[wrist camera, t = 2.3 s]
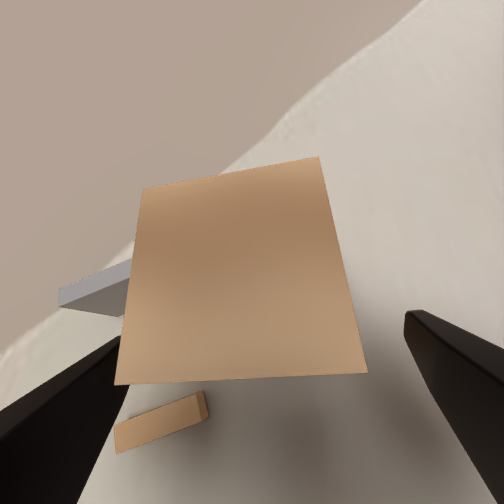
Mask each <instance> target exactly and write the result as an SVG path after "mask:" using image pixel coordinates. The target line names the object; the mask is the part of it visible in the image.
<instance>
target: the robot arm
mask: <svg viewBox="0 0 504 504" xmlns="http://www.w3.org/2000/svg"><path fill="white" fill-rule="evenodd" d="M404 338H405V341H406V343H407V345H408V347H409V349H410V351H411V353H412V356H413V358H414V360H415V362H416V364H417V366H418V368H419V370H420V372H421V374H422V376H423V378H424V381H425V383H426V385H427V387H428V389H429V391H430V393H431V394H432V396H433V398H434V399H435V401H436V403H437V405H438V406H439V408H440V409H441V411H442V413H443V414H444V416H445V418H446V419H447V421H448V423H449V424H450V426H451V428H452V429H453V431H454V433H455V434H456V436H457V438H458V439H459V441H460V442H461V444H462V446H463V447H464V449H465V451H466V452H467V454H468V456H469V457H470V459H471V461H472V462H473V464H474V466H475V467H476V469H477V470H478V472H479V474H480V475H481V477H482V479H483V480H484V482H485V484H486V485H487V487H488V489H489V490H490V492H491V494H492V495H493V497H494V499H495V500H496V502H497V503H498V504H504V349H503V348H501V347H499V346H497V345H495V344H492V343H490V342H488V341H486V340H484V339H482V338H480V337H478V336H476V335H474V334H472V333H470V332H468V331H465V330H463V329H461V328H459V327H457V326H455V325H453V324H451V323H449V322H447V321H445V320H443V319H441V318H439V317H436V316H434V315H432V314H430V313H428V312H426V311H424V310H411V311H407V312H406V314H405V322H404ZM120 341H121V335H120V336H117V337H115V338H114V339H112V340H111V341H109V342H108V343H106V344H104V345H103V346H101V347H100V348H98V349H97V350H95V351H93V352H92V353H90V354H89V355H87V356H86V357H84V358H82V359H81V360H79V361H78V362H76V363H75V364H73V365H71V366H70V367H68V368H67V369H65V370H64V371H62V372H61V373H59V374H57V375H56V376H54V377H53V378H51V379H50V380H48V381H46V382H45V383H43V384H42V385H40V386H39V387H37V388H35V389H34V390H32V391H31V392H29V393H28V394H26V395H25V396H23V397H21V398H20V399H18V400H17V401H15V402H14V403H12V404H10V405H9V406H7V407H6V408H4V409H3V410H1V411H0V504H77V502H78V500H79V498H80V496H81V493H82V491H83V489H84V487H85V485H86V483H87V481H88V478H89V476H90V474H91V472H92V470H93V468H94V465H95V463H96V461H97V459H98V457H99V455H100V452H101V450H102V448H103V446H104V444H105V442H106V439H107V437H108V435H109V433H110V431H111V429H112V426H113V424H114V422H115V420H116V418H117V416H118V414H119V411H120V409H121V407H122V404H123V402H124V399H125V397H126V394H127V391H128V389H129V386H130V385H114V382H115V375H116V369H117V362H118V355H119V348H120Z"/></svg>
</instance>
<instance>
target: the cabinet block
mask: <svg viewBox="0 0 504 504" xmlns="http://www.w3.org/2000/svg"><path fill="white" fill-rule="evenodd" d="M350 373H368V371H367V366H366V362H365V358H364V353H363V349H362V344H361V340H360V336H359V331H358V327H357V322H356V318H355V314H354V309H353V305H352V300H351V296H350V292H349V287H348V283H347V278H346V274H345V270H344V265H343V261H342V256H341V252H340V248H339V243H338V239H337V234H336V230H335V226H334V221H333V217H332V212H331V208H330V204H329V199H328V195H327V190H326V186H325V182H324V177H323V173H322V168H321V164H320V160H319V156H318V157H313V158H307V159H302V160H296V161H291V162H286V163H280V164H275V165H269V166H264V167H258V168H253V169H248V170H242V171H237V172H231V173H226V174H221V175H215V176H210V177H204V178H199V179H193V180H188V181H183V182H177V183H172V184H167V185H161V186H155V187H150V188H145V189H143V190H142V196H141V203H140V211H139V217H138V225H137V232H136V238H135V245H134V252H133V258H132V265H131V272H130V279H129V286H128V293H127V300H126V307H125V314H124V320H123V327H122V334H121V341H120V348H119V355H118V362H117V369H116V375H115V382H114V385H131V384H151V383H171V382H190V381H210V380H230V379H250V378H270V377H290V376H310V375H330V374H350Z"/></svg>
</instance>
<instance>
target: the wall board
mask: <svg viewBox="0 0 504 504" xmlns="http://www.w3.org/2000/svg"><path fill="white" fill-rule="evenodd" d="M131 265H132V259H129V260H127V261H124V262H122V263H119V264H117V265H115V266H112V267H110V268H107V269H105V270H103V271H100V272H98V273H96V274H93V275H91V276H88V277H86V278H83V279H81V280H79V281H76V282H74V283H71V284H69V285H67V286H64V287H62V288H59V289H58V307H62V308H68V309H74V310H80V311H86V312H92V313H98V314H104V315H110V316H116V317H117V316H120V315H122V314H125V307H126V300H127V293H128V286H129V279H130V272H131ZM207 417H208V411H207V407H206V402H205V398H204V393H203V391H201V392H198V393H196V394H193V395H190V396H188V397H185V398H183V399H180V400H178V401H175V402H172V403H170V404H167V405H165V406H162V407H160V408H157V409H154V410H152V411H149V412H147V413H144V414H142V415H139V416H136V417H134V418H131V419H129V420H126V421H124V422H121V423H119V424H117V425H114V436H115V450H116V454H119V453H121V452H124V451H126V450H129V449H132V448H134V447H137V446H140V445H142V444H145V443H147V442H150V441H153V440H155V439H158V438H160V437H163V436H166V435H168V434H171V433H173V432H176V431H179V430H181V429H184V428H186V427H189V426H192V425H194V424H197V423H199V422H202V421H203V420H204V419H206V418H207Z"/></svg>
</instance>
